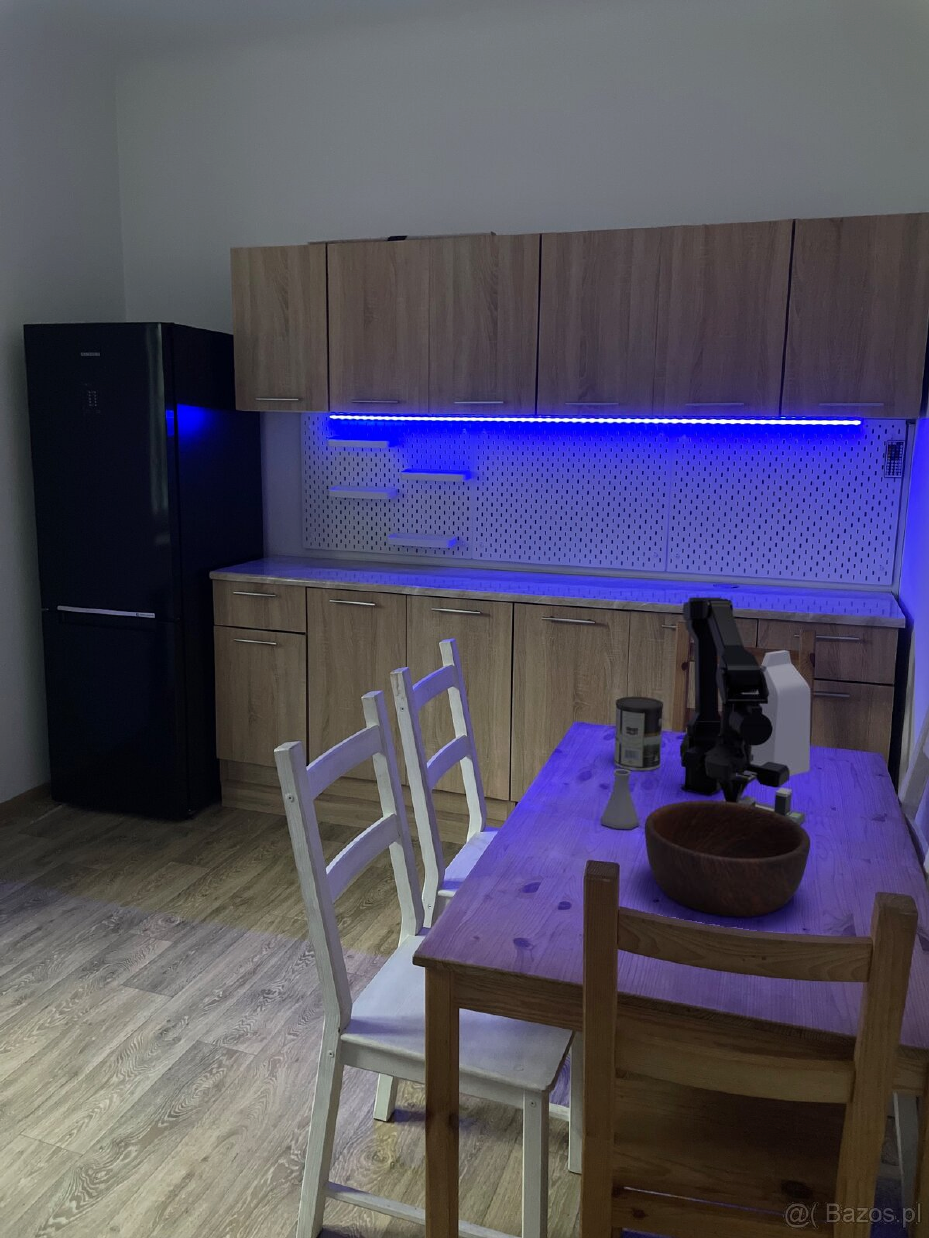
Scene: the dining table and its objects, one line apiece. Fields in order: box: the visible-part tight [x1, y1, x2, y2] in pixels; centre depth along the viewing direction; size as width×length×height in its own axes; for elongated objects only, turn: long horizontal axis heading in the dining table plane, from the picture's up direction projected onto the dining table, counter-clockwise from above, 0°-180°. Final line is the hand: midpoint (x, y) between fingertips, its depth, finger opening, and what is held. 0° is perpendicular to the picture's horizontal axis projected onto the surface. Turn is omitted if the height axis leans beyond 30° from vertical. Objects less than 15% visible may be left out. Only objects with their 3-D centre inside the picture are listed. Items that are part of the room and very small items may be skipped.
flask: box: [600, 768, 640, 830], centre depth 179 cm, size 7×7×10 cm
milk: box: [742, 649, 811, 777], centre depth 209 cm, size 12×12×26 cm
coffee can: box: [613, 696, 664, 772], centre depth 212 cm, size 10×10×14 cm
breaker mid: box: [739, 795, 757, 806], centre depth 177 cm, size 2×3×4 cm, turn 142°
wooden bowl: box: [644, 799, 811, 918], centre depth 152 cm, size 25×25×10 cm
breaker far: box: [774, 787, 793, 815], centre depth 181 cm, size 2×3×4 cm, turn 142°
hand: (731, 810), depth 178 cm, fingers closed
